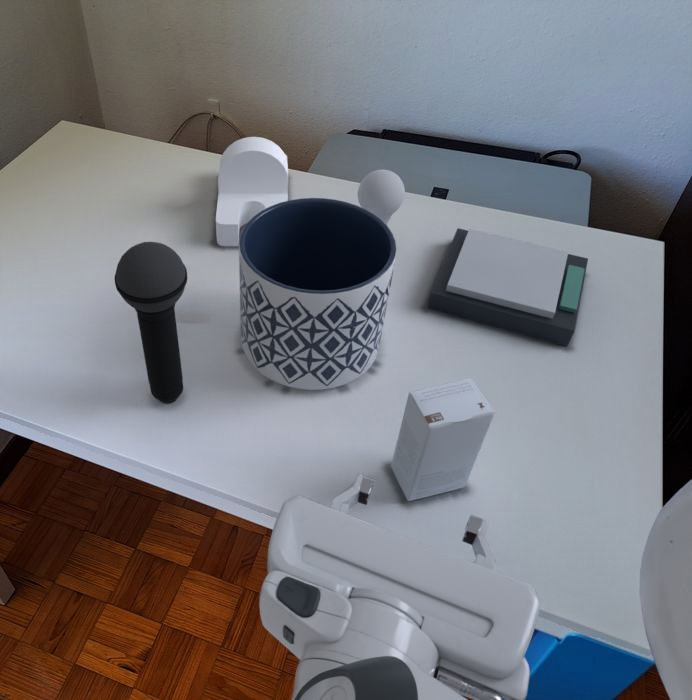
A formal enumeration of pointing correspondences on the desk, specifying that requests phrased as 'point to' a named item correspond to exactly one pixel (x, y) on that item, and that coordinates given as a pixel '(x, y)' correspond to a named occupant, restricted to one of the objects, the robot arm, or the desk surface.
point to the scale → (511, 285)
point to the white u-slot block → (248, 184)
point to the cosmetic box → (440, 438)
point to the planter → (314, 291)
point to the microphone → (155, 311)
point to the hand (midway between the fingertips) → (420, 500)
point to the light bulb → (381, 193)
